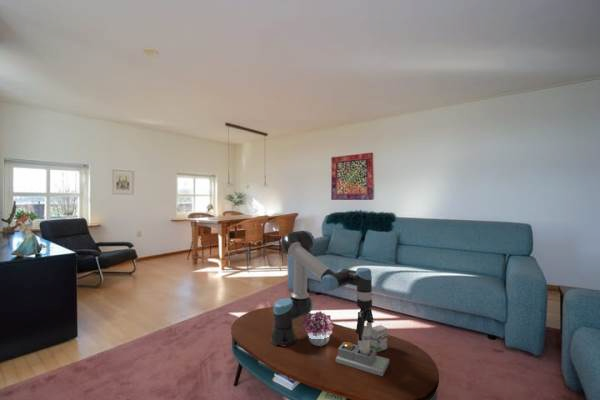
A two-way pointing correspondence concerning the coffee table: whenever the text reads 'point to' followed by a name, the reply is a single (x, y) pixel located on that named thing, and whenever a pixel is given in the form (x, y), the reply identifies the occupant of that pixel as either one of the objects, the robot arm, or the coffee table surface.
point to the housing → (362, 360)
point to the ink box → (379, 338)
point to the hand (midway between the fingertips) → (365, 340)
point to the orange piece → (348, 346)
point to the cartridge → (366, 342)
